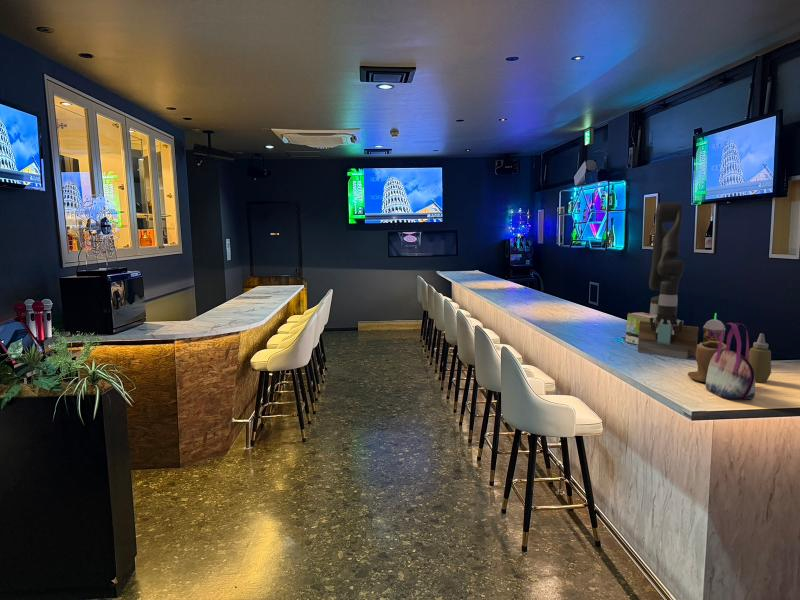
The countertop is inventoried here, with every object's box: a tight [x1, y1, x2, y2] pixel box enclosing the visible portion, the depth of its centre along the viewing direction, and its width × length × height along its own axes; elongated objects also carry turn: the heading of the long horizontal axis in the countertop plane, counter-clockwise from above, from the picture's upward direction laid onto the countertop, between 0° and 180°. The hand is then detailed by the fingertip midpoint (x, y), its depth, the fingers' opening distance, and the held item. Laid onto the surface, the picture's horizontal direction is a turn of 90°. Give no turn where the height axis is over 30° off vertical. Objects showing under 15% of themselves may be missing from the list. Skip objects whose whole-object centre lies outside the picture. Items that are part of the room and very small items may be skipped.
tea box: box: [625, 311, 658, 346], centre depth 255 cm, size 15×10×15 cm, turn 25°
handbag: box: [705, 322, 756, 400], centre depth 179 cm, size 21×10×25 cm, turn 2°
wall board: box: [637, 321, 699, 360], centre depth 237 cm, size 10×24×13 cm, turn 51°
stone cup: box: [687, 341, 726, 383], centre depth 194 cm, size 15×12×15 cm
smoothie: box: [702, 312, 726, 343], centre depth 229 cm, size 8×8×20 cm
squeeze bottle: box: [749, 333, 772, 383], centre depth 195 cm, size 8×8×18 cm
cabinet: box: [657, 324, 673, 345], centre depth 236 cm, size 6×5×12 cm
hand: (664, 341), depth 236 cm, fingers closed on cabinet, 5 cm apart
